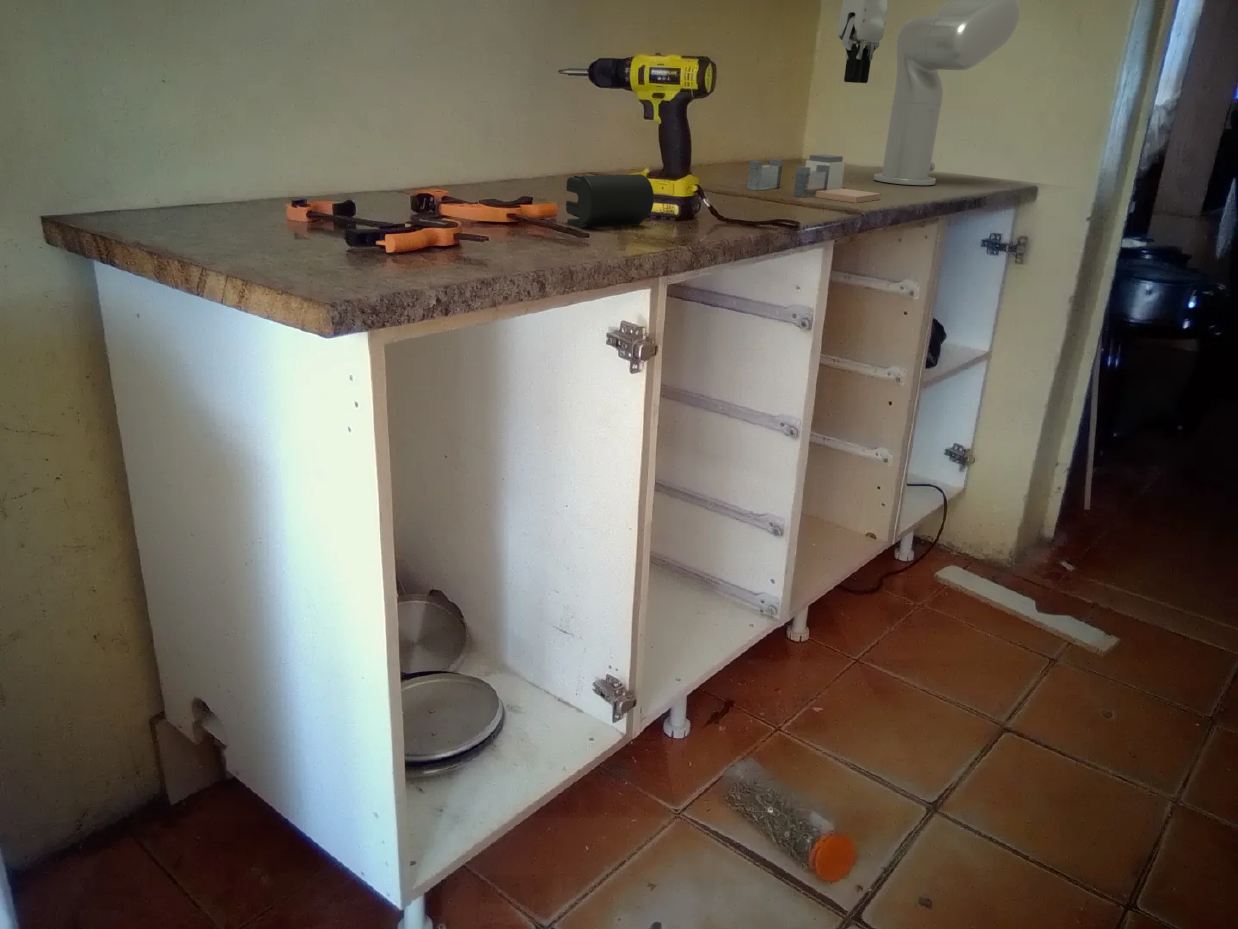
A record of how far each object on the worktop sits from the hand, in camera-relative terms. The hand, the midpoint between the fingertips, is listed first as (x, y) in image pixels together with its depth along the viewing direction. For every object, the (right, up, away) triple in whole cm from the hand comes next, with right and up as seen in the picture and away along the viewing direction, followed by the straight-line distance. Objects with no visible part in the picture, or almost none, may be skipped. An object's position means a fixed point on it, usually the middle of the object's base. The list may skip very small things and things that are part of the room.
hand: (855, 81), depth 180 cm
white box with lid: (-6, -20, +2) cm, 21 cm away
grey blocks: (-14, -23, -7) cm, 28 cm away
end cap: (-47, -41, -52) cm, 81 cm away
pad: (-4, -25, -11) cm, 28 cm away
